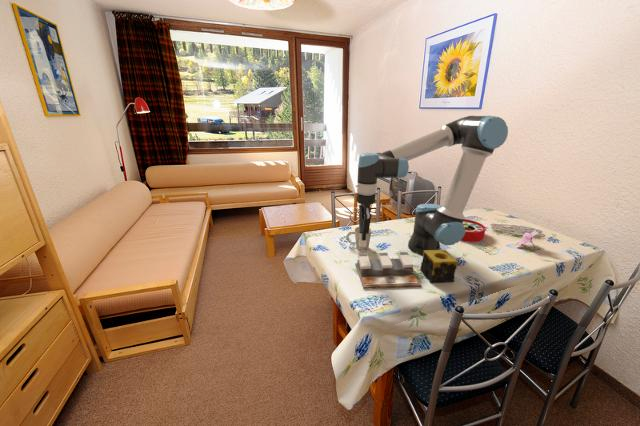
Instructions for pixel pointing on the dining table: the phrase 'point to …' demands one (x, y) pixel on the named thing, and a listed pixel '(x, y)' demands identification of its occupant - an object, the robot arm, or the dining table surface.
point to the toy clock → (473, 231)
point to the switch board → (387, 275)
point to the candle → (438, 266)
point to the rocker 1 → (364, 261)
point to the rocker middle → (385, 260)
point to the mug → (357, 237)
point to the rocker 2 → (405, 259)
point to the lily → (527, 238)
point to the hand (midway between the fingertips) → (362, 245)
